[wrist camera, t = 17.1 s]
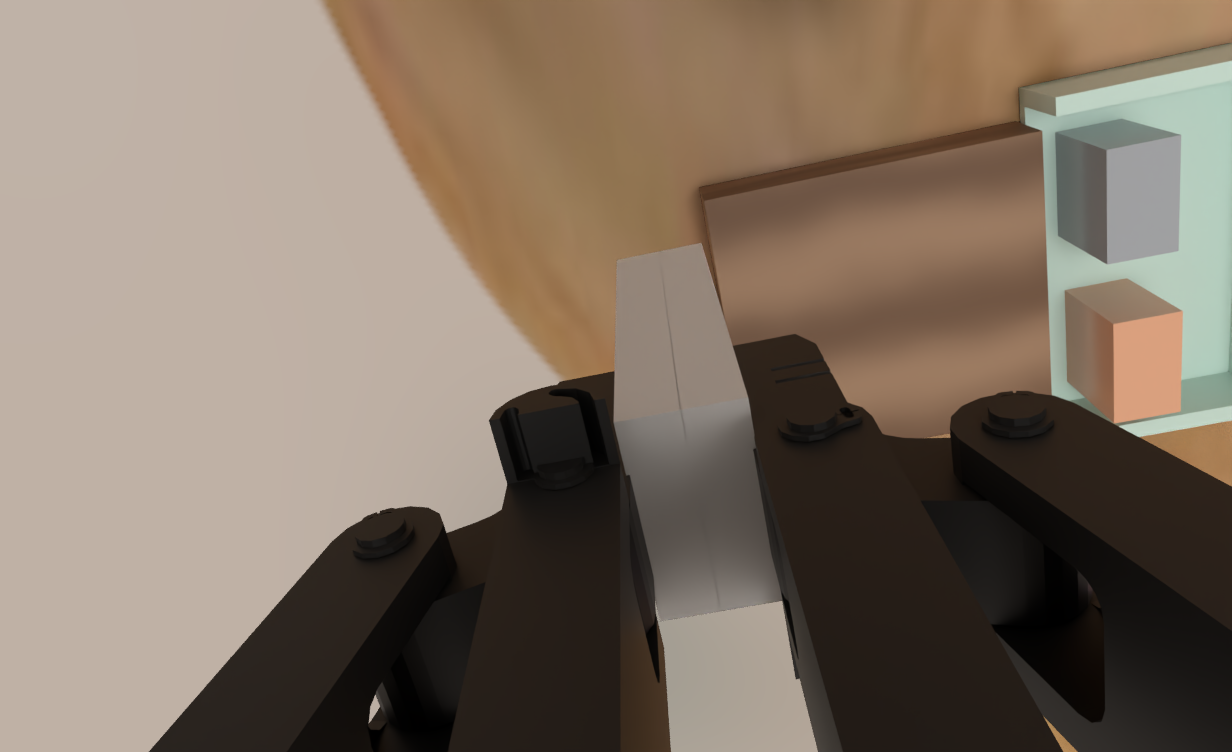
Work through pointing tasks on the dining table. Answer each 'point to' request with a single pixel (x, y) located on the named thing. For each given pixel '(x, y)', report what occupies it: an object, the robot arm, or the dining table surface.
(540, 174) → the dining table surface
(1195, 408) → the tray
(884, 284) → the plate
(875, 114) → the dining table surface
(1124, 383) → the terracotta tile
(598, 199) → the dining table surface
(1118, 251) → the grey square block
